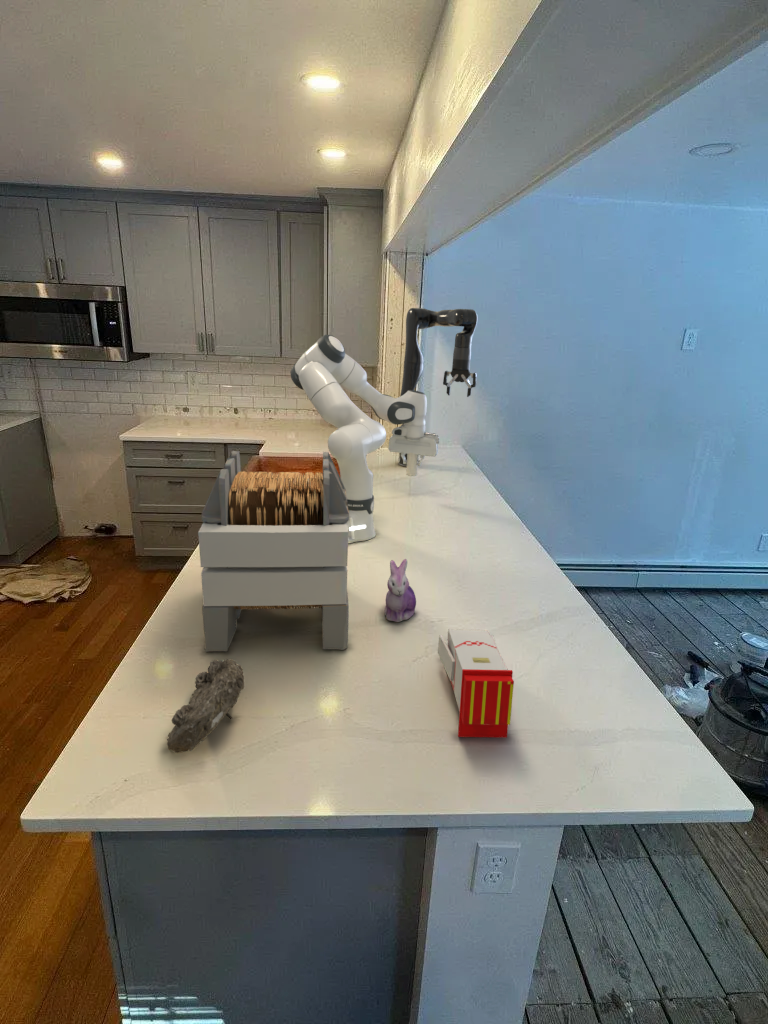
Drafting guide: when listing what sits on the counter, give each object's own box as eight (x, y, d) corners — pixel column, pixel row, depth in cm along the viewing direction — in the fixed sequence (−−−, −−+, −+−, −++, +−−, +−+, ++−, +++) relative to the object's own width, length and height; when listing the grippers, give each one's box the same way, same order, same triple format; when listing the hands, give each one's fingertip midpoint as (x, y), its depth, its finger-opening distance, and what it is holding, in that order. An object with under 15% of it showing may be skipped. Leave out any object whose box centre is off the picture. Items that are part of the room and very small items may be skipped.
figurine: (392, 627, 141) (395, 572, 136) (374, 608, 149) (376, 556, 144) (425, 619, 145) (429, 566, 140) (405, 601, 154) (408, 550, 149)
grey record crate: (225, 584, 158) (217, 441, 145) (342, 583, 162) (345, 443, 148) (202, 654, 127) (189, 479, 113) (348, 650, 131) (352, 481, 117)
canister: (409, 476, 231) (411, 453, 228) (404, 473, 235) (405, 450, 232) (419, 475, 233) (420, 452, 230) (413, 472, 237) (415, 450, 234)
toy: (488, 613, 130) (523, 677, 101) (484, 667, 133) (517, 744, 104) (435, 612, 130) (455, 676, 101) (432, 666, 133) (451, 743, 103)
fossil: (192, 660, 117) (244, 628, 112) (224, 691, 120) (276, 661, 115) (142, 746, 98) (202, 712, 93) (182, 779, 101) (242, 748, 96)
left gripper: (441, 432, 228) (438, 465, 232) (392, 427, 233) (390, 460, 238) (438, 435, 222) (435, 469, 227) (388, 430, 227) (386, 463, 232)
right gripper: (444, 357, 243) (441, 395, 248) (477, 359, 239) (473, 398, 245) (446, 356, 249) (443, 393, 255) (479, 358, 246) (475, 396, 252)
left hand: (412, 464), depth 232 cm, fingers closed on canister, 4 cm apart
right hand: (458, 395), depth 250 cm, fingers open, 8 cm apart
